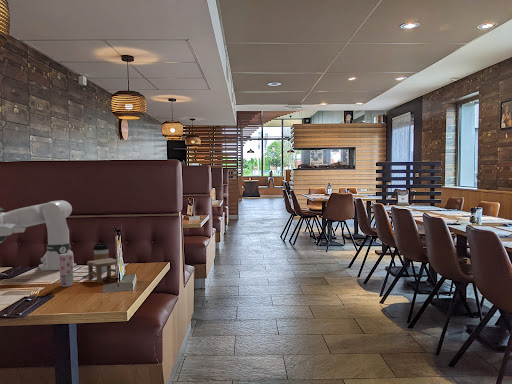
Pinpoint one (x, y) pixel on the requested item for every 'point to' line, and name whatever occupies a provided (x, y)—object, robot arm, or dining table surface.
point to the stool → (99, 264)
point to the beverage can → (66, 269)
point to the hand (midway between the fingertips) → (25, 229)
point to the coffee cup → (101, 253)
